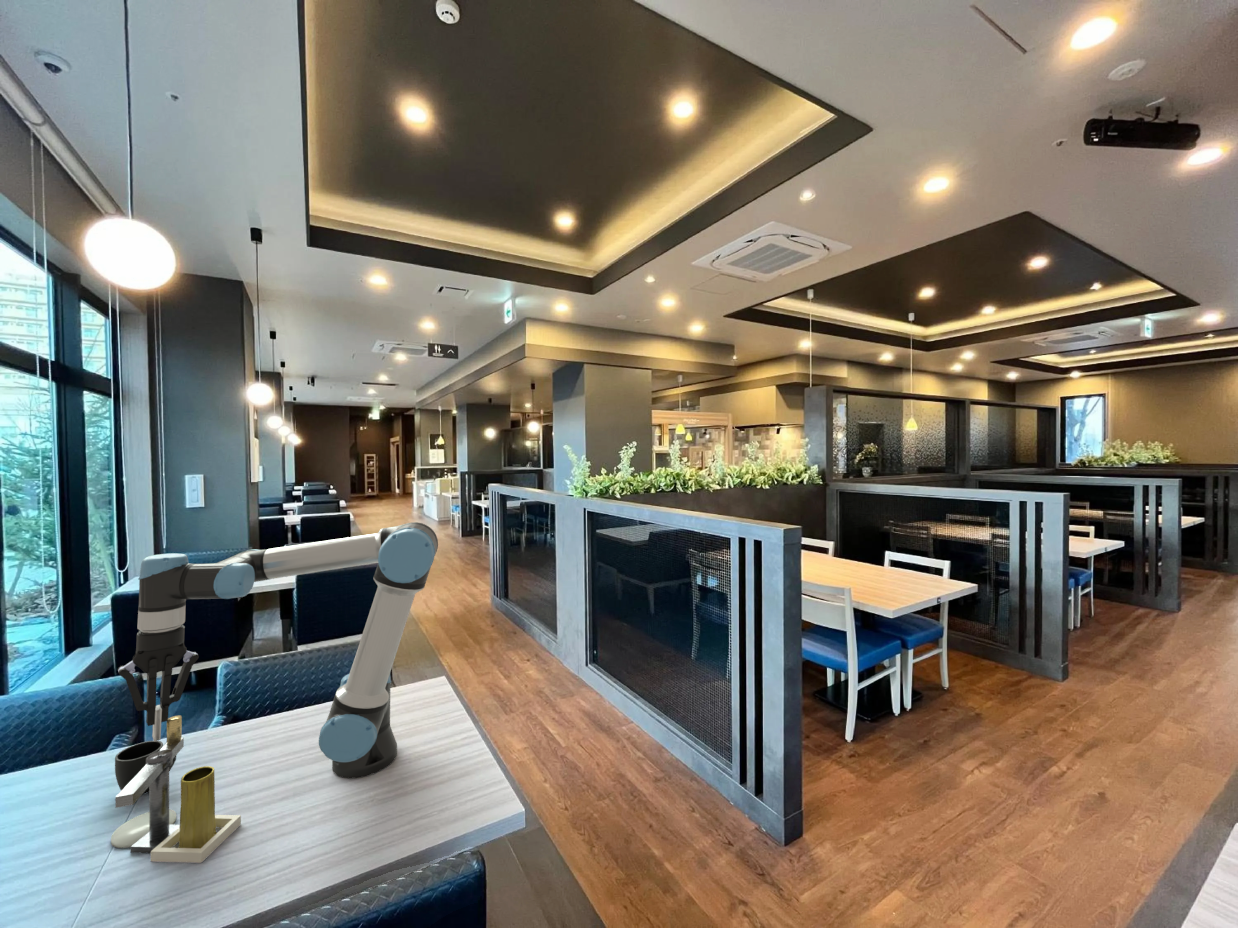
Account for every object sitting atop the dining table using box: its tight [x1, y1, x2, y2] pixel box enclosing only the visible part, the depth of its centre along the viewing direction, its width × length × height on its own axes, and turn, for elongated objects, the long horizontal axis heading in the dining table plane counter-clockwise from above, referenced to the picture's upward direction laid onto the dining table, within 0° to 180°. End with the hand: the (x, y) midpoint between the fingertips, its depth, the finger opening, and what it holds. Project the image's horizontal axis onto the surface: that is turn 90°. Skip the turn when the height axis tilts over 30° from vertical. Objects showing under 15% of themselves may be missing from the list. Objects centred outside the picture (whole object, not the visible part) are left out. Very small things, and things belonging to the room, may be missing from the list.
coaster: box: [110, 808, 177, 849], centre depth 105 cm, size 10×10×1 cm
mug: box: [114, 740, 177, 796], centre depth 117 cm, size 8×12×10 cm
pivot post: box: [129, 768, 180, 854], centre depth 102 cm, size 6×6×15 cm
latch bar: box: [114, 715, 185, 809], centre depth 99 cm, size 19×4×7 cm, turn 20°
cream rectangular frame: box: [150, 814, 242, 864], centre depth 102 cm, size 10×10×2 cm
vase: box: [177, 765, 218, 849], centre depth 101 cm, size 6×6×14 cm
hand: (156, 737), depth 105 cm, fingers closed
